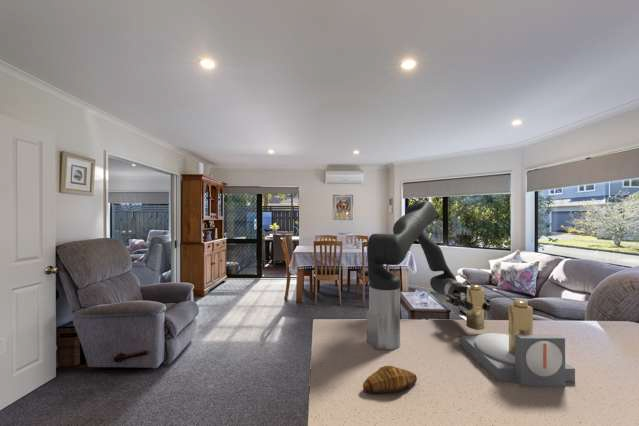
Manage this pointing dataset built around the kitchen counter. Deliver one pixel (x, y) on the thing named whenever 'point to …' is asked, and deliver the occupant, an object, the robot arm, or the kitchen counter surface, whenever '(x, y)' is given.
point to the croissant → (389, 380)
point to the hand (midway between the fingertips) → (479, 307)
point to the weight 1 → (475, 307)
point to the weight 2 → (519, 321)
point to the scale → (522, 358)
